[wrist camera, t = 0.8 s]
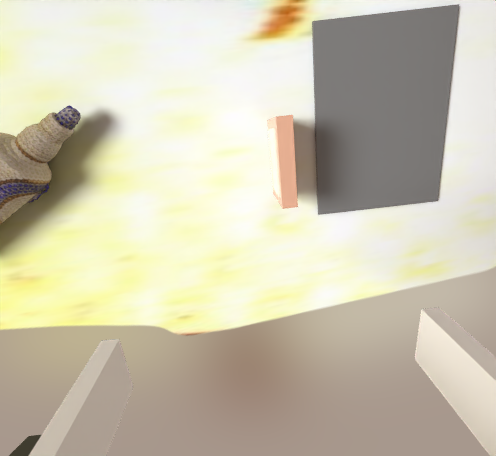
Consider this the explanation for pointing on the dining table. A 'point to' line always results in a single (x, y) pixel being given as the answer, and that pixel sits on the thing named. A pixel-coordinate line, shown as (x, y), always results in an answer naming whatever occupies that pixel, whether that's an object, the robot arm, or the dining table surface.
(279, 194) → the terracotta tile
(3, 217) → the decorative bottle
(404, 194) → the rubber mat
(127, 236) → the dining table surface
